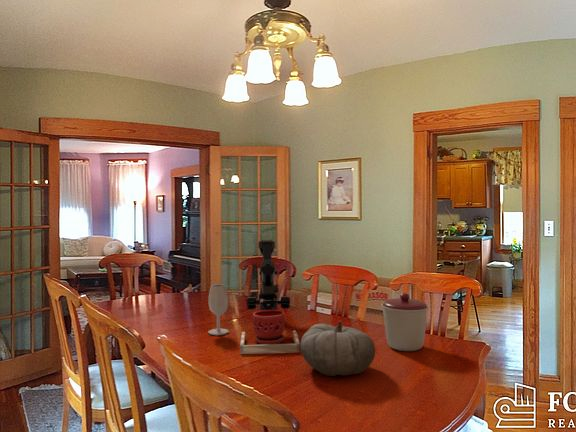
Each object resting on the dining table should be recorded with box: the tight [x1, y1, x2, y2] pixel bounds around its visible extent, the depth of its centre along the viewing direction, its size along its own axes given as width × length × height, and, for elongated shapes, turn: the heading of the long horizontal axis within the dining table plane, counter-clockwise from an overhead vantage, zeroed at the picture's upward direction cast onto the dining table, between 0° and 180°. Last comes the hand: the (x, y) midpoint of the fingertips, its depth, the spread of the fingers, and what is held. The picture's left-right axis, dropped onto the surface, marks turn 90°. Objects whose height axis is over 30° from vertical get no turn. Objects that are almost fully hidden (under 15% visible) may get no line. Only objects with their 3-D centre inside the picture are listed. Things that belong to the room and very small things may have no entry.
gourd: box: [300, 320, 376, 377], centre depth 148 cm, size 25×25×17 cm
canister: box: [380, 292, 430, 352], centre depth 171 cm, size 18×18×21 cm
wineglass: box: [207, 283, 230, 336], centre depth 193 cm, size 9×9×21 cm
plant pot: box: [252, 309, 286, 345], centre depth 180 cm, size 13×13×12 cm
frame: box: [239, 330, 301, 355], centre depth 175 cm, size 19×22×3 cm
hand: (268, 319), depth 186 cm, fingers closed
